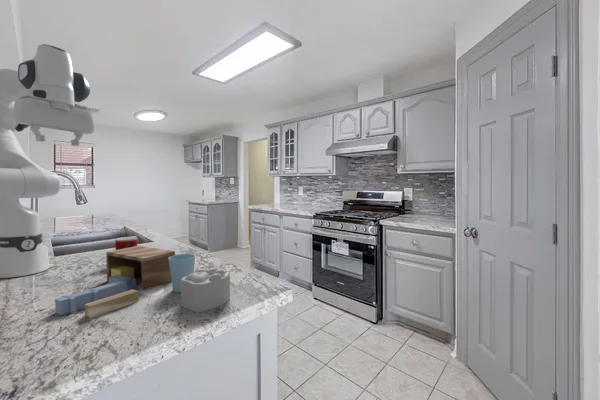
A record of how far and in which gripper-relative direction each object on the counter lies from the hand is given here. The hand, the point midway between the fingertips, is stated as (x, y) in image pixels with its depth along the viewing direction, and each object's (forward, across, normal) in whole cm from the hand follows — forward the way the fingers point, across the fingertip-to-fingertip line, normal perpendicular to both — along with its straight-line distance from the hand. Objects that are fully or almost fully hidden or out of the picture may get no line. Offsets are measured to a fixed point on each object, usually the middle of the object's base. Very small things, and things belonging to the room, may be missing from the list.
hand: (58, 143), depth 91 cm
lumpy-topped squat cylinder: (+47, -8, +51) cm, 70 cm away
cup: (+46, -12, +37) cm, 61 cm away
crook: (+46, +3, +19) cm, 50 cm away
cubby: (+46, -13, +17) cm, 51 cm away
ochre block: (+46, -11, +11) cm, 49 cm away
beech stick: (+46, +5, +31) cm, 56 cm away
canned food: (+46, -26, -7) cm, 53 cm away
